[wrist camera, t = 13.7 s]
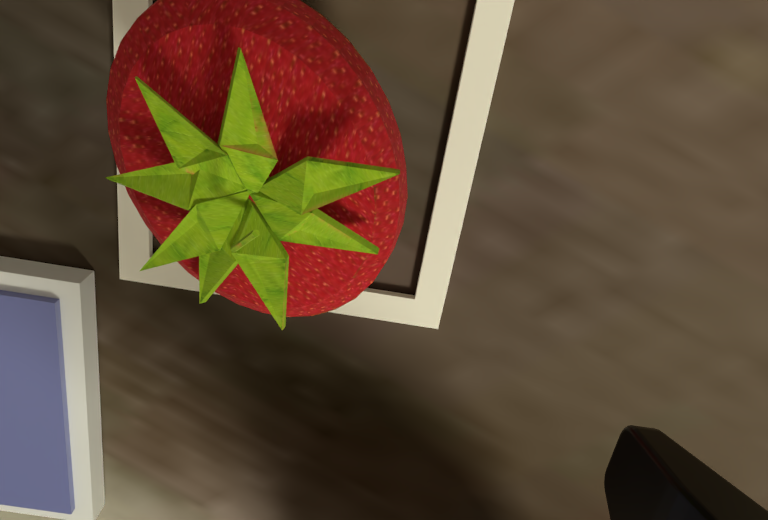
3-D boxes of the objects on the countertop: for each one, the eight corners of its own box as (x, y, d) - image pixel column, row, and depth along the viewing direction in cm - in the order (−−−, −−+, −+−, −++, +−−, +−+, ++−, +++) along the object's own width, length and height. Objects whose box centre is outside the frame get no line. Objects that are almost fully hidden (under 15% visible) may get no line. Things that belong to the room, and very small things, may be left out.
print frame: (437, 324, 21) (438, 329, 20) (123, 275, 20) (119, 279, 20) (535, -101, 15) (538, -102, 15) (112, -179, 15) (107, -183, 15)
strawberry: (334, -61, 16) (242, -136, 7) (441, 184, 19) (480, 365, 10) (152, 37, 17) (-134, 87, 8) (279, 254, 20) (175, 476, 11)
